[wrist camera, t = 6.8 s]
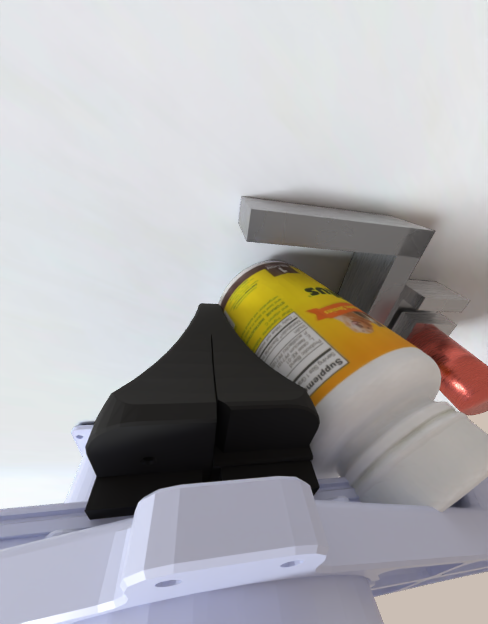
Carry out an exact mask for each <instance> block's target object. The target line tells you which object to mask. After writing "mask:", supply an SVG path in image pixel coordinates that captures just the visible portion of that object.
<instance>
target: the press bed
mask: <svg viewBox="0 0 488 624" xmlns="http://www.w3.org/2000/svg"><path fill="white" fill-rule="evenodd" d="M238 223H239V226H240V228H241V230H242V232H243V235H244V237H245V239H246V241H247V242H258V243H268V244H279V245H289V246H300V247H310V248H321V249H331V250H342V251H352V252H354V255H353V257H352V260H351V263H350V265H349V268H348V270H347V273H346V275H345V278H344V280H343V283H342V285H341V288H340V290H339V293H338V295H339V296H340V297H342V298H343V299H345V300H346V301H348V302H349V303H351V304H352V305H354V306H355V307H357V308H358V309H360V310H362V311H363V312H365V313H366V314H367V315H369V316H370V317H372V318H373V319H375V320H376V321H378V322H379V323H381V324H382V325H383V324H384V322H385V320H386V318H387V316H388V315H389V313H390V311H391V309H392V308H393V306H394V304H395V302H396V300H397V299H398V297H399V295H400V293H401V291H402V290H403V288H404V286H405V284H406V282H407V281H408V279H409V277H410V275H411V273H412V272H413V270H414V268H415V266H416V265H417V263H418V261H419V259H420V257H421V256H422V254H423V252H424V250H425V248H426V247H427V245H428V243H429V241H430V239H431V238H432V236H433V234H434V232H435V231H434V230H431V229H428V228H425V227H422V226H419V225H416V224H413V223H410V222H407V221H405V220H402V219H399V218H396V217H393V216H389V215H381V214H373V213H366V212H358V211H350V210H342V209H335V208H327V207H319V206H311V205H304V204H296V203H288V202H280V201H272V200H265V199H257V198H249V197H241V204H240V213H239V222H238Z"/></svg>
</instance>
